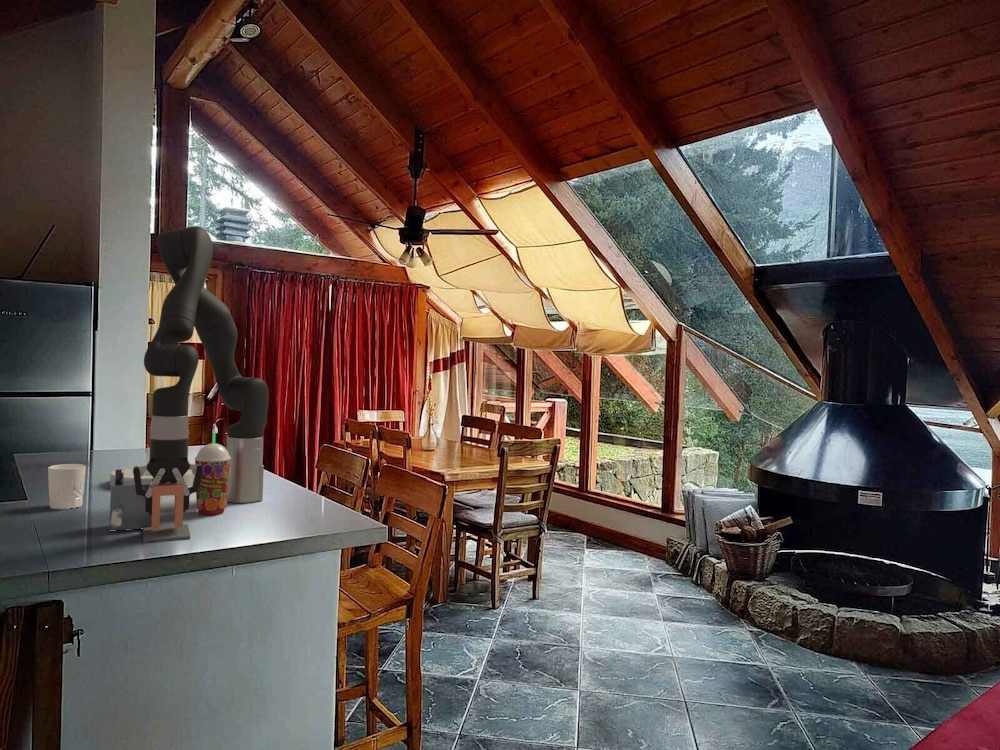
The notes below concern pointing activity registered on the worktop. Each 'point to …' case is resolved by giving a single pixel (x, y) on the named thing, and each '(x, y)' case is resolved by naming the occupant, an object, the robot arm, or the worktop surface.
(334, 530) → the worktop surface
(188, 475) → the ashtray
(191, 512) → the worktop surface
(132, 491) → the vise block
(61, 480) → the white cup
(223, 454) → the smoothie
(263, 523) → the worktop surface
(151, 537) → the mat
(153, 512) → the notched orange block
